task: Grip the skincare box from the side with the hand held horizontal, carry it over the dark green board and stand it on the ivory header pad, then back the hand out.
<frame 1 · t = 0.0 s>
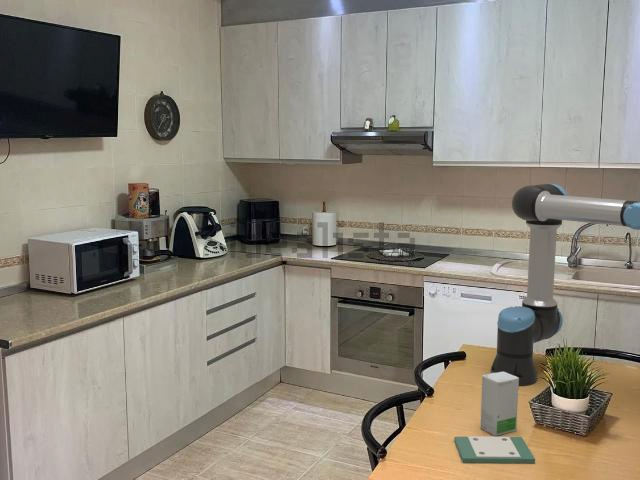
skincare box: (498, 429, 182), on the table
board: (493, 451, 170), on the table
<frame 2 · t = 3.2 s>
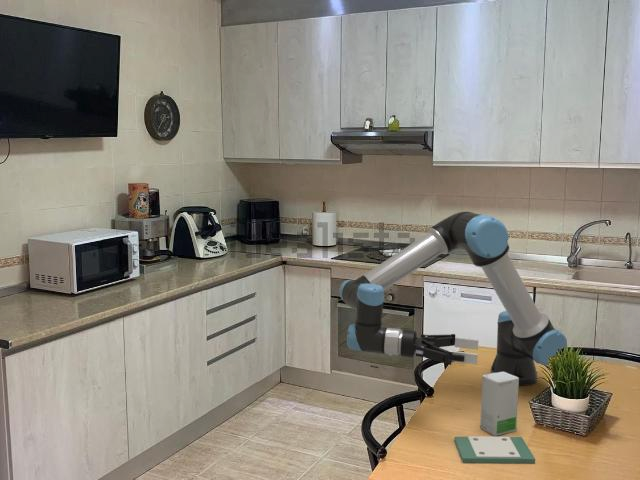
hand: (477, 351, 181), 22 cm above the table, tool horizontal, fingers open, 13 cm apart
nothing on the table moved.
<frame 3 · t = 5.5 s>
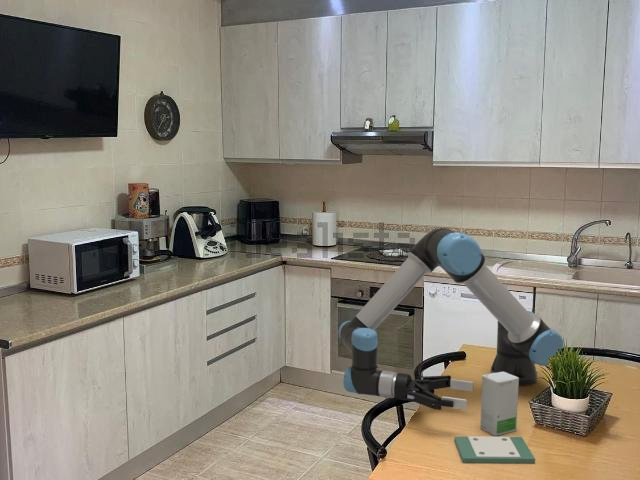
hand: (469, 395, 184), 9 cm above the table, tool horizontal, fingers open, 13 cm apart
nothing on the table moved.
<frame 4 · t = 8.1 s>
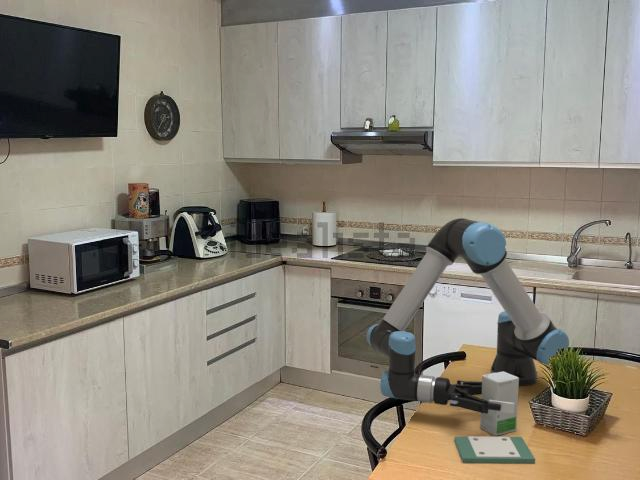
hand: (515, 400, 180), 9 cm above the table, tool horizontal, fingers closed on skincare box, 10 cm apart
skincare box: (497, 429, 182), on the table, touching gripper
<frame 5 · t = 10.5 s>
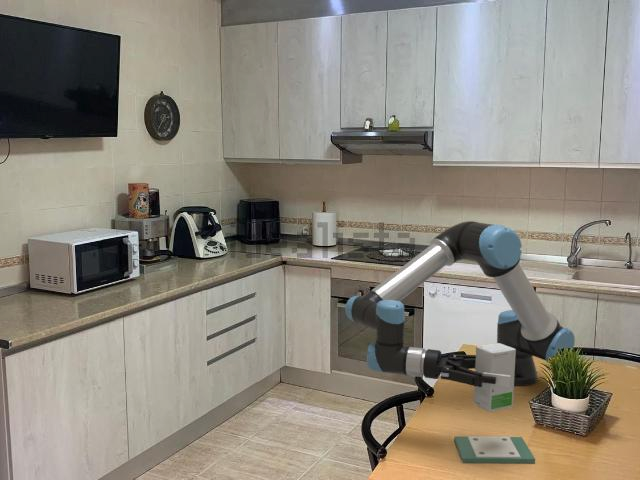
hand: (512, 374, 165), 21 cm above the table, tool horizontal, fingers closed on skincare box, 10 cm apart
skincare box: (492, 406, 168), point 12 cm above the table, touching gripper
when the fingers open (11 cm above the table, at t = 13.4 s): skincare box stays where it is, resting on board.
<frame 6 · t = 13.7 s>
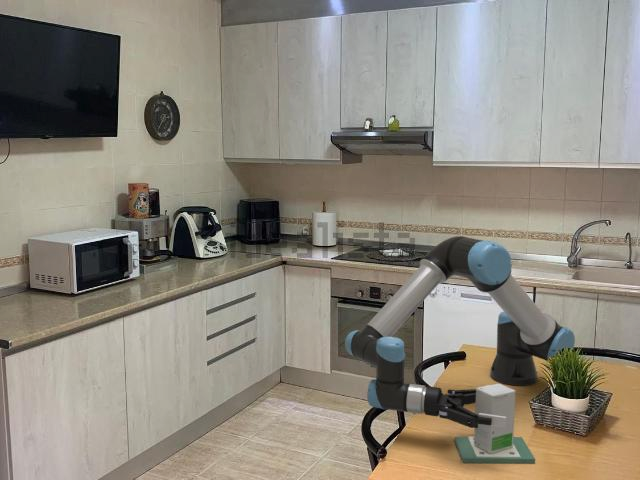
hand: (508, 411, 167), 11 cm above the table, tool horizontal, fingers open, 13 cm apart
skincare box: (493, 446, 170), point 1 cm above the table, touching board
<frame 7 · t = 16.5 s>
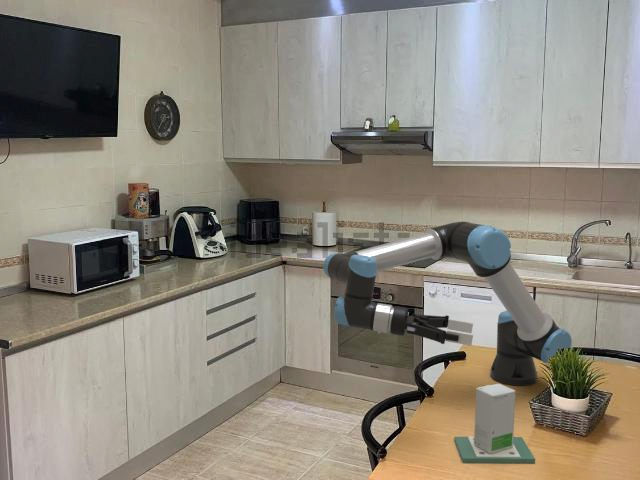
hand: (472, 334, 170), 30 cm above the table, tool horizontal, fingers open, 13 cm apart
nothing on the table moved.
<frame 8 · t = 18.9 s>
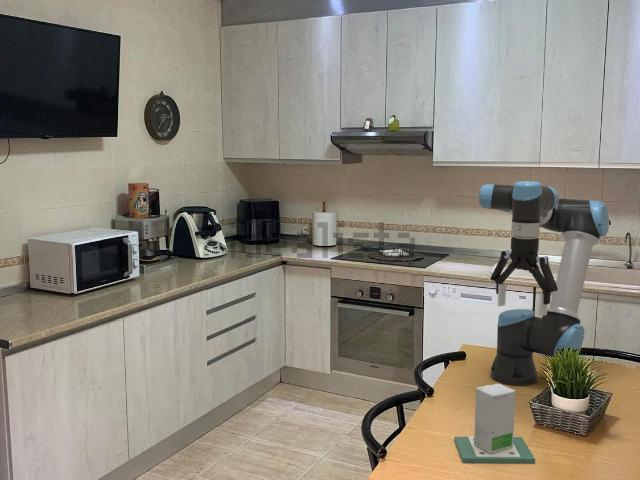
hand: (521, 310, 186), 32 cm above the table, tool pointing down, fingers open, 13 cm apart
nothing on the table moved.
at the end: skincare box inside the target area on the board (0.2 cm from its centre), point 1.3 cm above the board's base; skincare box tilted 0°; the gripper is holding nothing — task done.
